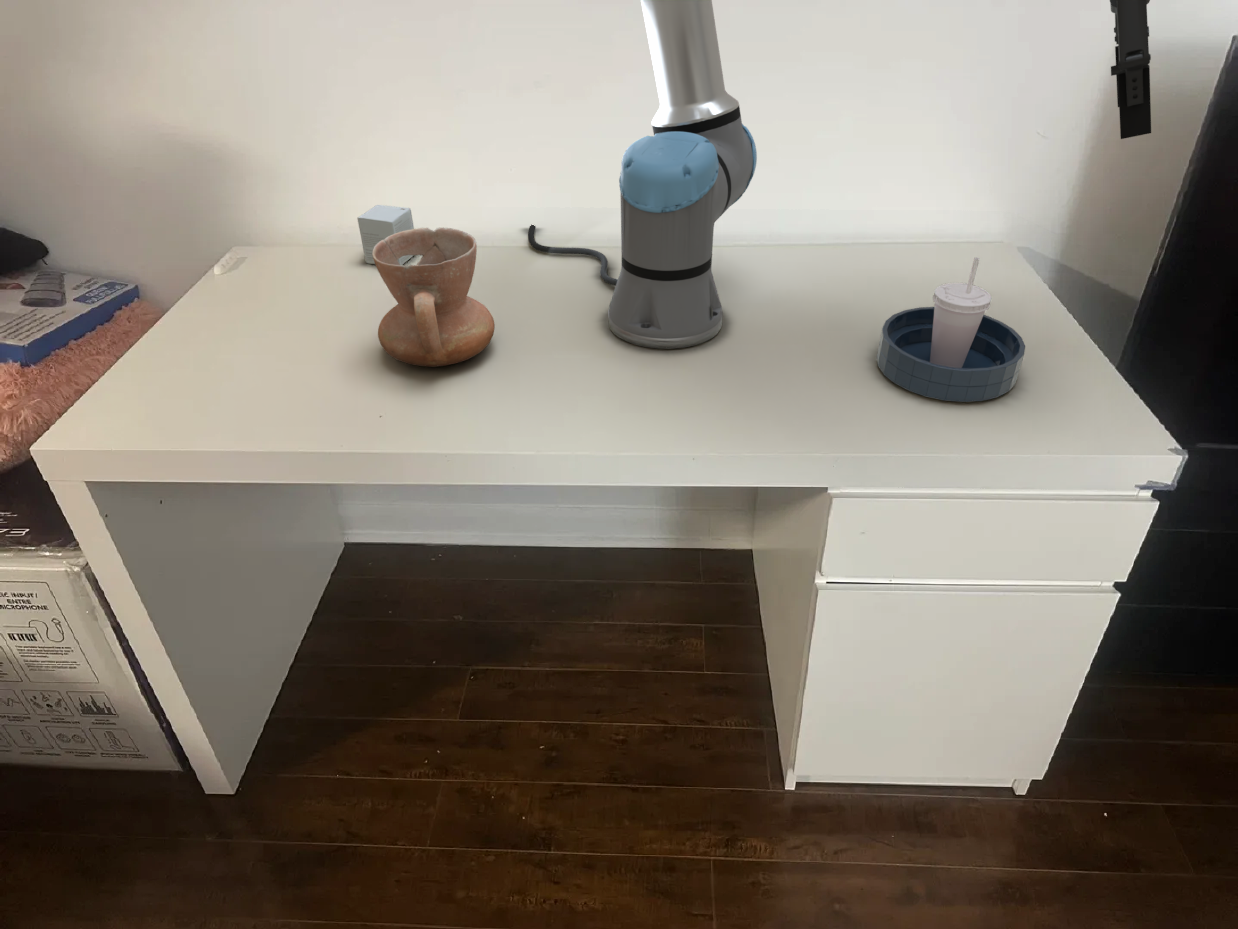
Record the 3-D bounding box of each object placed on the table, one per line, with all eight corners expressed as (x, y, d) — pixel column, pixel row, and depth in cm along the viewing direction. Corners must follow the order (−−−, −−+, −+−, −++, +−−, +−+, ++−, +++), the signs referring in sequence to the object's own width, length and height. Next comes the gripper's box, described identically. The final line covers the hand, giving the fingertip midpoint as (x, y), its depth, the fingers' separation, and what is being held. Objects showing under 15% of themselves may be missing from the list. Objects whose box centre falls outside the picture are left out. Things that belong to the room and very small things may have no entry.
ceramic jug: (393, 322, 118) (374, 220, 110) (500, 318, 119) (489, 217, 110) (370, 391, 104) (347, 280, 95) (492, 386, 104) (480, 275, 96)
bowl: (851, 351, 110) (856, 319, 108) (956, 329, 115) (964, 298, 112) (930, 416, 98) (938, 381, 95) (1045, 389, 103) (1056, 355, 100)
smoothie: (976, 382, 103) (1005, 271, 95) (920, 377, 104) (944, 267, 96) (969, 356, 108) (997, 249, 100) (916, 351, 109) (939, 245, 101)
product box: (384, 248, 139) (376, 203, 135) (419, 252, 137) (412, 207, 133) (364, 263, 134) (355, 217, 130) (400, 268, 133) (392, 221, 128)
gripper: (1180, -110, 74) (1183, 141, 83) (1163, -124, 92) (1166, 83, 102) (1080, -79, 78) (1094, 158, 87) (1083, -98, 96) (1093, 100, 106)
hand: (1133, 118), depth 95 cm, fingers open, 13 cm apart
